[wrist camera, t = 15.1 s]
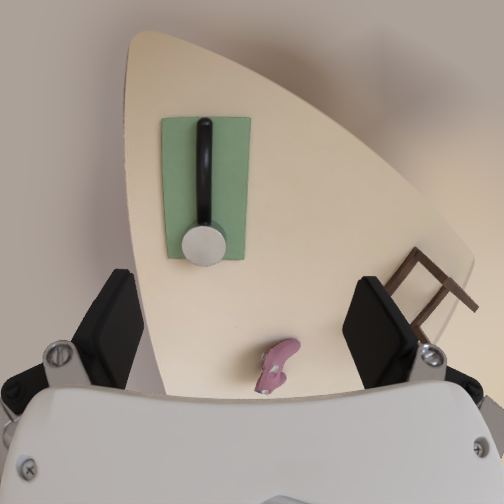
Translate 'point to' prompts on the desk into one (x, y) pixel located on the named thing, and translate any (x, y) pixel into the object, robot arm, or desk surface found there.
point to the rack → (447, 286)
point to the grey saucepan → (204, 206)
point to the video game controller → (275, 366)
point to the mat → (223, 180)
